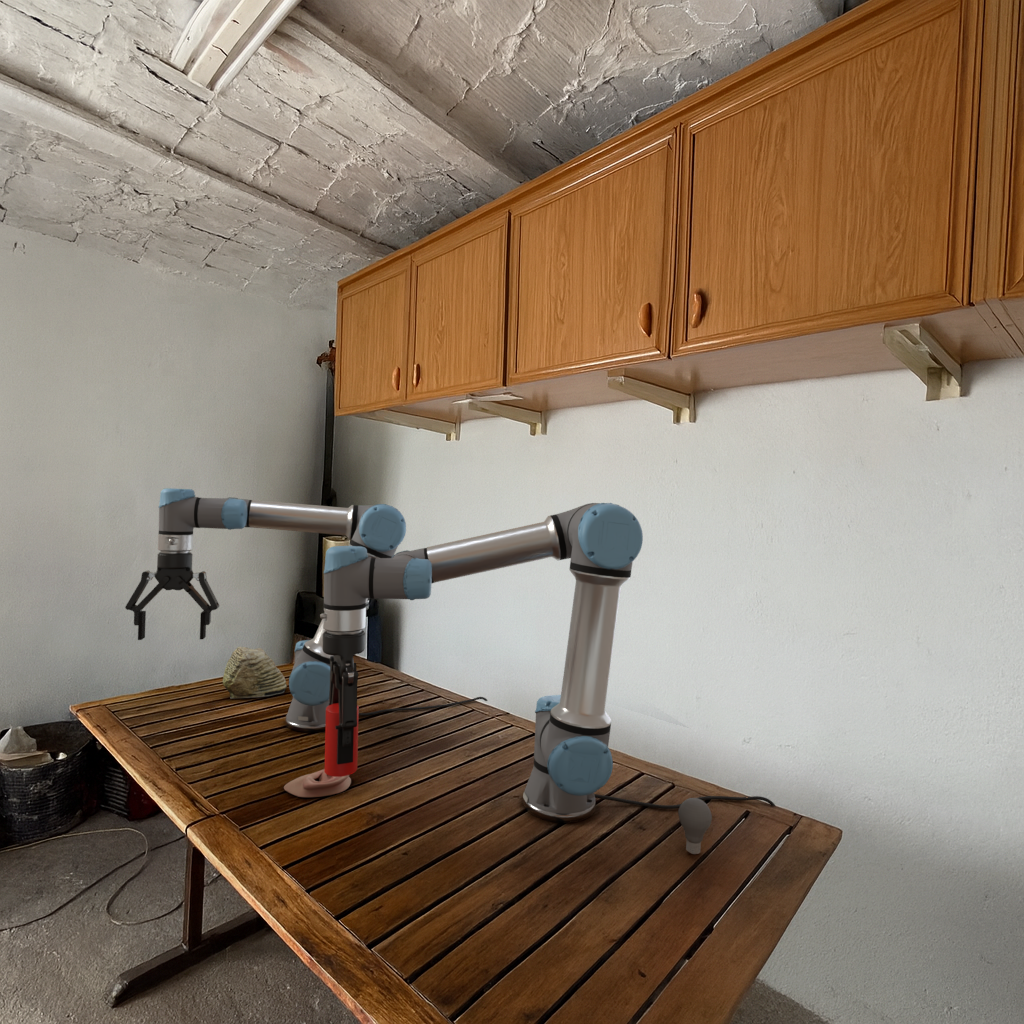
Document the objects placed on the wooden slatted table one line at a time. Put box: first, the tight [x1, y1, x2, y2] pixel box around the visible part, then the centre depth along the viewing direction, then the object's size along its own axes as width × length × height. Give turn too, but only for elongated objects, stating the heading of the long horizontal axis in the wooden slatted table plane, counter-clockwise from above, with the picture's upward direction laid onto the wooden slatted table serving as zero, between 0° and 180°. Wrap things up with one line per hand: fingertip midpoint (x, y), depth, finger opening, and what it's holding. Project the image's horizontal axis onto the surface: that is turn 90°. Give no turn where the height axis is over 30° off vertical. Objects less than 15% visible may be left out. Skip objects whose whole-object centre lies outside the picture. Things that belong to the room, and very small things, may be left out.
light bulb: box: [677, 797, 713, 855], centre depth 118 cm, size 6×6×10 cm
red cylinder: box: [323, 703, 360, 777], centre depth 116 cm, size 6×6×12 cm
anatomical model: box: [283, 768, 352, 798], centre depth 138 cm, size 13×4×12 cm
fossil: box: [222, 646, 288, 699], centre depth 198 cm, size 9×18×15 cm, turn 132°
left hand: (172, 638), depth 155 cm, fingers open, 13 cm apart
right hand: (341, 755), depth 117 cm, fingers closed on red cylinder, 6 cm apart
